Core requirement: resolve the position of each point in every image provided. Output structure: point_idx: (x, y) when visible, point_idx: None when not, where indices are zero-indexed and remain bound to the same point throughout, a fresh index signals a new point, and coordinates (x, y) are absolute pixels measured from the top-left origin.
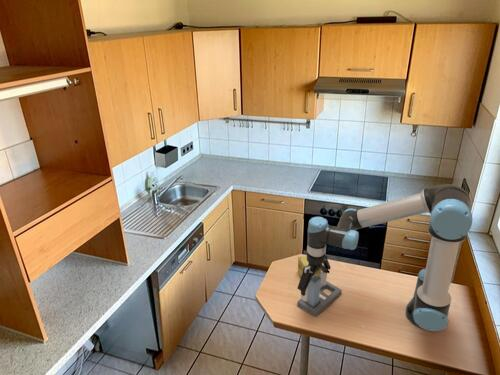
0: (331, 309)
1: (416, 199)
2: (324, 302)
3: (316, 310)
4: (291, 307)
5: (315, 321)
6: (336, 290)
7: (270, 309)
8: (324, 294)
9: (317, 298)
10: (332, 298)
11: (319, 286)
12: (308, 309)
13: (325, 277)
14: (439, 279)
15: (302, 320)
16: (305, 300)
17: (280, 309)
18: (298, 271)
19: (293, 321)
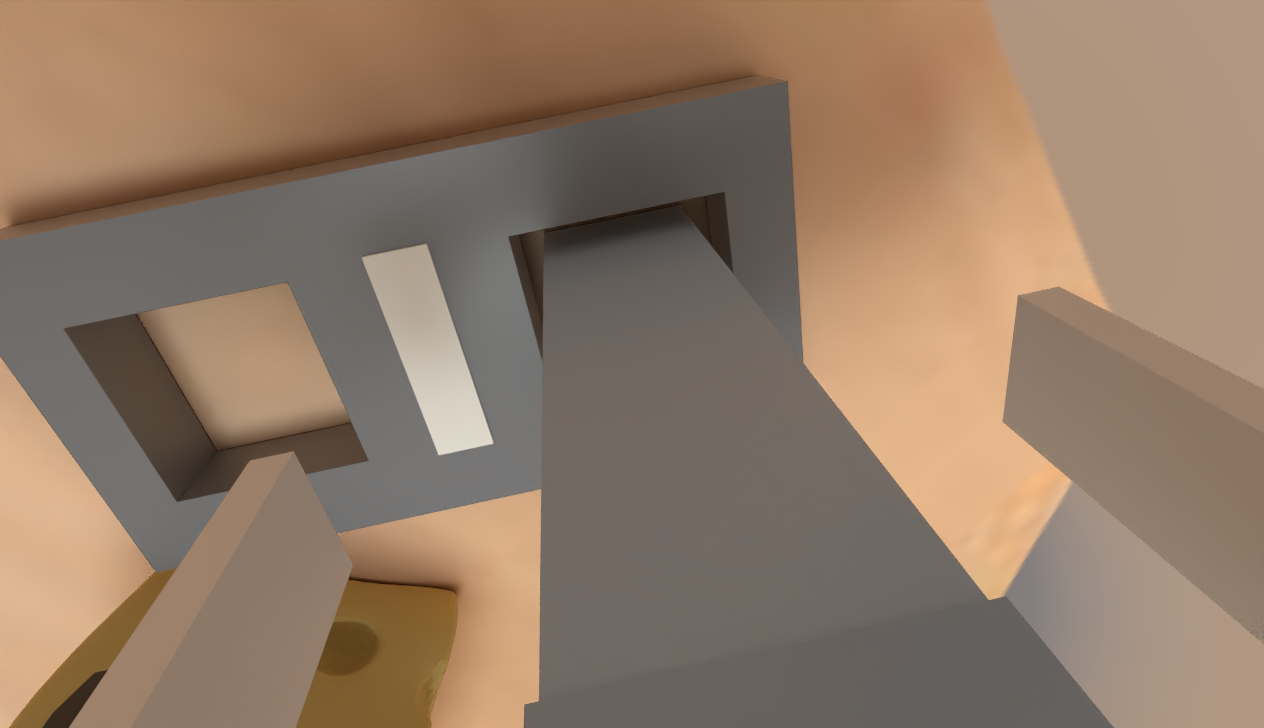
0: (404, 46)
1: None
2: (468, 192)
3: (725, 126)
4: (852, 403)
5: (813, 7)
6: (58, 298)
7: (1035, 489)
8: (345, 337)
9: (606, 289)
10: (258, 187)
11: (585, 476)
12: (791, 232)
13: (149, 703)
14: None
15: (932, 150)
16: (1075, 313)
17: (965, 441)
18: None
19: (1025, 209)
